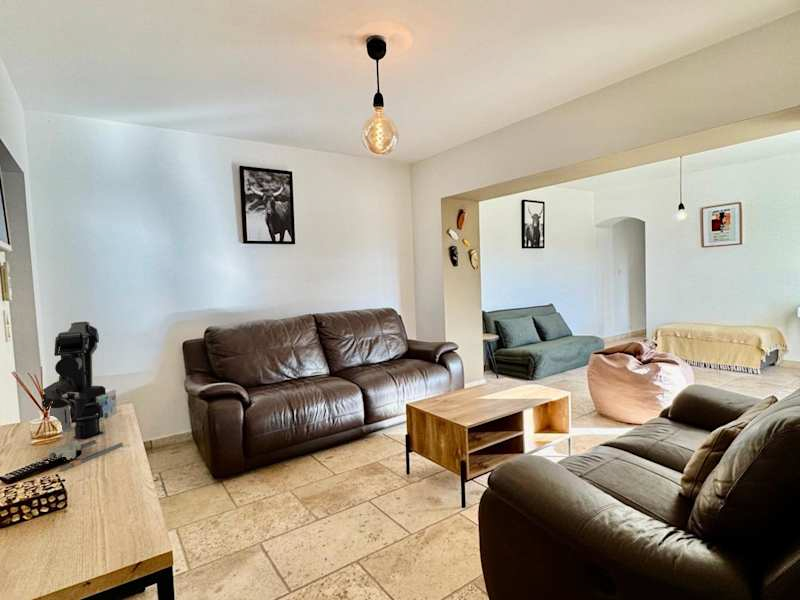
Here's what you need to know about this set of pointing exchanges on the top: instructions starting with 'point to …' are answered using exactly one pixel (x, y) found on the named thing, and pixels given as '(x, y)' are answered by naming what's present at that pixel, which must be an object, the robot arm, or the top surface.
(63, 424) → the glass holder
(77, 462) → the grey metal bars
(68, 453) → the pipe fitting
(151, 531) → the top surface
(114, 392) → the light bulb box
